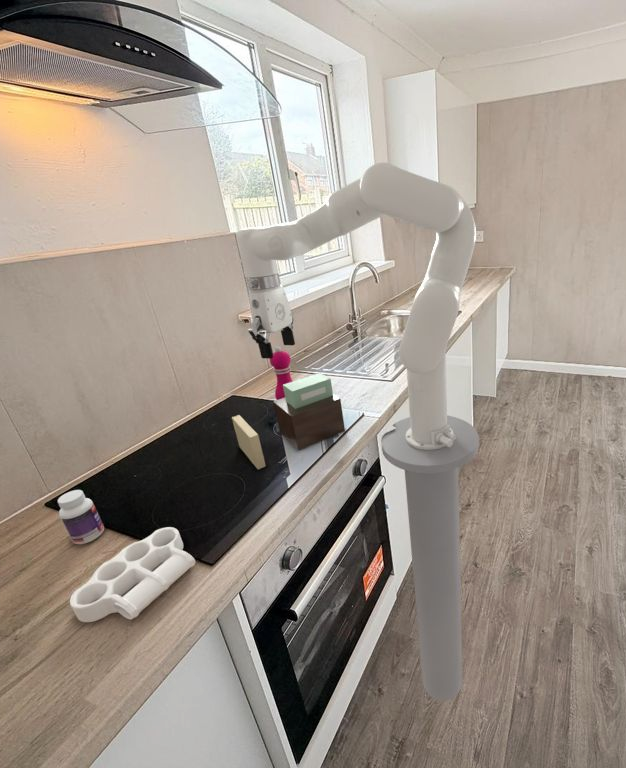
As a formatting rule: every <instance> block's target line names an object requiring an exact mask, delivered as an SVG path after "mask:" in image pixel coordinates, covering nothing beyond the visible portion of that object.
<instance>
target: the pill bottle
mask: <svg viewBox="0 0 626 768" xmlns="http://www.w3.org/2000/svg"><path fill="white" fill-rule="evenodd" d="M57 504H58V506H59V508H60V509H59V511H58V516H59V518H60V520H61V522H62V524H63V526H64V528H65V530H66V531H67V534H68V536H69V538H70V540H71V542H72V544H75V545H85V544H88V543H90V542H93V541H94V540H97V538H99V537H100V536H101V535H102V534H103V533H104V531H105V526H104V523H103V521H102V519H101V516H100V514H99V512H98V510H97V508H96V506H95V504H94V502H93V500H92V499H90V497H89V498H88V497H86V495H85V493H84V491H83V490H81V489H74V490H70V491H68V492H66V493H64V494H62V495H61V496H59V497H58V499H57Z"/></svg>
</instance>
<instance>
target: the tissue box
mask: <svg viewBox="0 0 626 768" xmlns="http://www.w3.org/2000/svg"><path fill="white" fill-rule="evenodd" d="M332 386H333V385H332V379H331V378H330V377H329V376H327V375H325V374H323V373H321V372H318V373H316V374H312V375H308V376H306V377H303V378H300V379H296V380H293V382H290V383H287V384H284V385H283V388H284V393H285V398H286V402H287V403H289V404H290V405H291V406H292V407H294V408H295V409H297V408H300V407H303V406H305V405H308V404H311V403H314V402H317V401H319V400H322V399H325V398H328V397H331V396H333V394H334V392H333V391H334V390H333V387H332Z"/></svg>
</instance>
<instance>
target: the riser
mask: <svg viewBox="0 0 626 768" xmlns="http://www.w3.org/2000/svg"><path fill="white" fill-rule="evenodd" d="M272 403H273V408H274V413H275V416H276V420H277V426H278V430H279V434H280V435H281V436H282V437H283V438H284V439H286V440H287V442H289V443H290V445H292V446H293V447H294V448H295V449H296V451H301V450H303V449H306V448H308V447H310V446H313V445H315V444H317V443H320V442H322V441H325V440H327V439H329V438H332V437H334V436H336V435H339V434H341V433H344V432H345V431H346V428H345V427H346V426H345V420H344V414H343V406H342V400H341V398H340V397H339V396H338V395H335V394H334V393H333V396H331V397H328V398H325V399H322V400H319V401H317V402H314V403H311V404H308V405H305V406H303V407H300V408H297V409H295V408H294V407H292V406H291V405H290V404H289V403H287V402H286V398H282V399H279V400H277V399H275V400H273V401H272Z"/></svg>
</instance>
